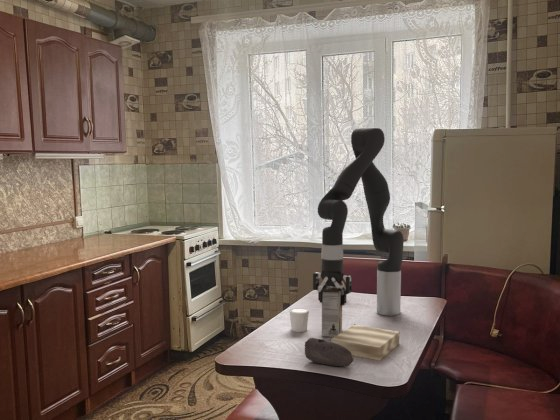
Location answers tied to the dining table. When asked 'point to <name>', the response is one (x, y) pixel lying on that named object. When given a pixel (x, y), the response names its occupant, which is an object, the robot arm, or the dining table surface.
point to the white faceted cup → (299, 319)
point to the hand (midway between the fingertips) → (332, 303)
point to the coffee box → (331, 311)
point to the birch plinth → (368, 341)
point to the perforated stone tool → (327, 352)
